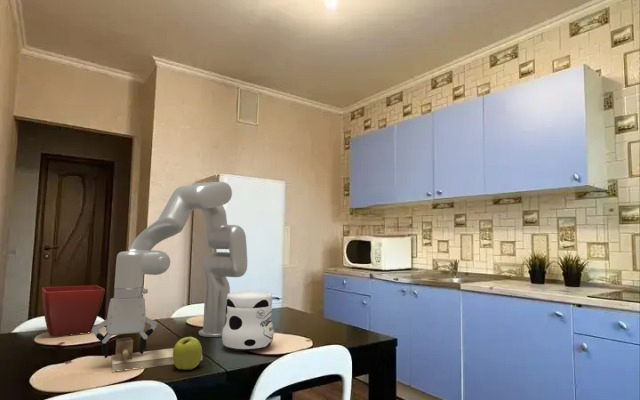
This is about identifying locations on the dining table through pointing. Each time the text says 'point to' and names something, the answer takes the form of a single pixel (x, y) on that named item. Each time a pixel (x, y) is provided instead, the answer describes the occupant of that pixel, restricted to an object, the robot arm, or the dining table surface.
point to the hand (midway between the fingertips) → (123, 354)
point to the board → (145, 360)
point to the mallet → (124, 349)
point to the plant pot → (71, 308)
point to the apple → (187, 353)
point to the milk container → (248, 321)
